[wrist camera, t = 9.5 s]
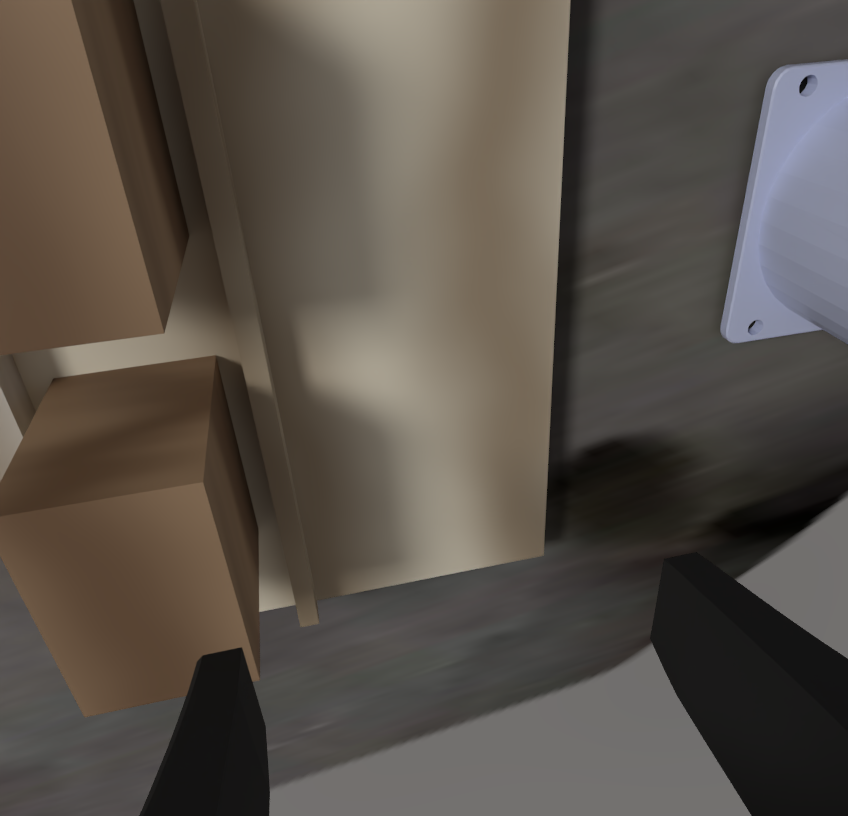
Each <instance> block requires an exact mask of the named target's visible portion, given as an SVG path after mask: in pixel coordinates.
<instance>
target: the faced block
mask: <svg viewBox="0 0 848 816" xmlns="http://www.w3.org/2000/svg"><path fill="white" fill-rule="evenodd" d="M0 557H1V559H2V561H3V562H4V564H5V566H6V568H7V570H8V572H9V574H10V576H11V578H12V580H13V582H14V583H15V585H16V587H17V589H18V591H19V593H20V595H21V597H22V599H23V601H24V603H25V604H26V606H27V608H28V610H29V612H30V614H31V616H32V618H33V620H34V622H35V624H36V625H37V627H38V629H39V631H40V633H41V635H42V637H43V639H44V641H45V643H46V645H47V646H48V648H49V650H50V652H51V654H52V656H53V658H54V660H55V662H56V664H57V666H58V667H59V669H60V671H61V673H62V675H63V677H64V679H65V681H66V683H67V685H68V687H69V688H70V690H71V692H72V694H73V696H74V698H75V700H76V702H77V704H78V706H79V708H80V710H81V711H82V713H83V715H84V717H88V716H93V715H98V714H103V713H107V712H112V711H117V710H121V709H126V708H131V707H135V706H140V705H145V704H150V703H154V702H159V701H164V700H168V699H173V698H178V697H182V696H187V693H188V690H189V687H190V683H191V680H192V677H193V674H194V670H195V667H196V663H197V661H198V660H199V659H200V658H201V657H202V656H203V655H207V654H211V653H216V652H221V651H226V650H230V649H235V648H240V647H242V649H243V652H244V655H245V659H246V662H247V665H248V669H249V672H250V676H251V679H252V682H253V681H258V680H260V633H259V532H258V525H257V521H256V517H255V513H254V509H253V505H252V501H251V497H250V492H249V488H248V484H247V480H246V476H245V472H244V468H243V464H242V460H241V456H240V452H239V448H238V443H237V439H236V435H235V431H234V427H233V423H232V419H231V415H230V411H229V407H228V403H227V399H226V394H225V390H224V386H223V382H222V378H221V374H220V370H219V366H218V362H217V358H216V355H213V356H206V357H199V358H192V359H185V360H178V361H171V362H164V363H157V364H150V365H143V366H136V367H129V368H122V369H115V370H108V371H101V372H94V373H87V374H81V375H74V376H67V377H60V378H53V380H52V382H51V384H50V386H49V388H48V390H47V392H46V394H45V396H44V398H43V400H42V401H41V403H40V405H39V407H38V409H37V411H36V413H35V415H34V417H33V419H32V421H31V423H30V425H29V427H28V429H27V431H26V433H25V435H24V437H23V439H22V441H21V443H20V445H19V446H18V448H17V450H16V452H15V454H14V456H13V458H12V460H11V462H10V464H9V466H8V468H7V470H6V472H5V474H4V476H3V478H2V480H1V482H0Z"/></svg>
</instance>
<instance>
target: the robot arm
mask: <svg viewBox="0 0 848 816" xmlns="http://www.w3.org/2000/svg"><path fill="white" fill-rule="evenodd" d="M806 76H807V85H806V87H805V89H804V90H803V91H802V92H801V93H799V86H800V84H801V81H802V80H803V79H804V78H805V77H806ZM755 320H756V321H755ZM753 321H755V324H754V325H753V326H752V327H751V328H750V329H748V327H749V325H750V324H751V323H752V322H753ZM720 328H721V334H722V336H723V337H724V338H725V339H727V340H728V341H730V342H731V343H742V342H748V341H754V340H761V339H767V338H773V337H780V336H786V335H792V334H799V333H805V332H811V331H818V330H824V331H826V332H828V333H829V334H831V335H833V336H834V337H836V338H838V339H839V340H841V341H843V342H844V343H846V344H848V59H846V60H835V61H825V62H814V63H803V64H793V65H786V66H782V67H780V68H778V69H777V70H776V71H775V72H773V74H772V75H771V77H770V78H769V80H768V83H767V85H766V89H765V94H764V99H763V105H762V110H761V115H760V121H759V126H758V131H757V137H756V142H755V147H754V152H753V158H752V163H751V168H750V174H749V179H748V184H747V189H746V195H745V200H744V205H743V211H742V216H741V221H740V227H739V232H738V237H737V242H736V248H735V253H734V258H733V264H732V269H731V274H730V280H729V285H728V290H727V295H726V301H725V306H724V311H723V317H722V322H721V327H720ZM650 639H651V641H652V643H653V646H654V648H655V650H656V652H657V654H658V657H659V659H660V661H661V663H662V666H663V668H664V670H665V672H666V674H667V676H668V678H669V680H670V682H671V684H672V686H673V688H674V690H675V692H676V694H677V696H678V698H679V699H680V701H681V703H682V704H683V706H684V708H685V709H686V711H687V713H688V714H689V716H690V718H691V719H692V721H693V722H694V724H695V726H696V727H697V729H698V730H699V732H700V734H701V735H702V737H703V739H704V740H705V742H706V743H707V745H708V747H709V748H710V750H711V751H712V753H713V754H714V756H715V758H716V759H717V761H718V763H719V764H720V766H721V767H722V769H723V771H724V772H725V774H726V775H727V777H728V779H729V780H730V782H731V783H732V785H733V786H734V788H735V790H736V791H737V793H738V795H739V796H740V798H741V799H742V801H743V803H744V804H745V806H746V807H747V809H748V811H749V812H750V814H751V815H752V816H848V659H847V658H846V657H844V656H843V655H841V654H840V653H838V652H837V651H835V650H834V649H832V648H831V647H829V646H828V645H826V644H824V643H823V642H822V641H820V640H819V639H817V638H816V637H814V636H813V635H811V634H810V633H809V632H807V631H806V630H804V629H803V628H801V627H800V626H798V625H797V624H796V623H794V622H793V621H791V620H790V619H788V618H787V617H786V616H784V615H783V614H781V613H780V612H779V611H777V610H775V609H774V608H773V607H772V606H770V605H769V604H767V603H766V602H764V601H763V600H762V599H760V598H759V597H758V596H756V595H755V594H753V593H752V592H751V591H749V590H748V589H747V588H745V587H744V586H743V585H741V584H740V583H738V582H737V581H736V580H734V579H733V578H732V577H730V576H729V575H727V574H726V573H725V572H723V571H722V570H721V569H719V568H718V567H716V566H715V565H714V564H712V563H711V562H710V561H708V560H707V559H705V558H704V557H702V556H701V555H700V554H698V553H697V552H695V553H691V554H686V555H681V556H676V557H671V558H667V559H664V563H663V568H662V574H661V580H660V585H659V591H658V597H657V603H656V608H655V614H654V620H653V626H652V631H651V637H650ZM269 797H270V789H269V772H268V756H267V742H266V727H265V723H264V719H263V716H262V713H261V709H260V706H259V702H258V699H257V696H256V692H255V689H254V686H253V682H252V679H251V676H250V672H249V669H248V665H247V662H246V659H245V655H244V652H243V649H242V647H240V648H235V649H230V650H226V651H221V652H216V653H211V654H207V655H203V656H202V657H201V658H200V659H199V660H198V661H197V663H196V667H195V670H194V674H193V677H192V680H191V683H190V687H189V690H188V693H187V696H186V699H185V702H184V705H183V708H182V711H181V713H180V716H179V719H178V722H177V724H176V727H175V730H174V732H173V735H172V738H171V741H170V743H169V746H168V748H167V751H166V753H165V756H164V758H163V761H162V763H161V765H160V768H159V770H158V773H157V775H156V778H155V780H154V783H153V785H152V787H151V790H150V792H149V795H148V797H147V799H146V802H145V804H144V806H143V809H142V811H141V813H140V815H139V816H269V799H270V798H269Z"/></svg>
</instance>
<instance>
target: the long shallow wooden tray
mask: <svg viewBox="0 0 848 816" xmlns="http://www.w3.org/2000/svg"><path fill="white" fill-rule="evenodd" d="M133 1H134V5H135V9H136V13H137V17H138V22H139V26H140V30H141V34H142V38H143V43H144V47H145V51H146V55H147V59H148V64H149V68H150V72H151V76H152V80H153V85H154V89H155V93H156V97H157V101H158V106H159V110H160V114H161V118H162V122H163V127H164V131H165V135H166V139H167V143H168V147H169V152H170V156H171V160H172V164H173V168H174V173H175V177H176V181H177V185H178V189H179V194H180V198H181V202H182V206H183V210H184V215H185V219H186V223H187V227H188V231H189V239H188V243H187V247H186V251H185V255H184V259H183V263H182V267H181V271H180V274H179V278H178V282H177V286H176V290H175V294H174V298H173V302H172V306H171V310H170V313H169V317H168V321H167V325H166V329H165V333H164V334H157V335H150V336H142V337H135V338H127V339H120V340H112V341H105V342H97V343H90V344H82V345H75V346H67V347H60V348H52V349H45V350H37V351H30V352H22V353H15V354H8V355H0V482H1V480H2V478H3V476H4V474H5V472H6V470H7V468H8V466H9V464H10V462H11V460H12V458H13V456H14V454H15V452H16V450H17V448H18V446H19V445H20V443H21V441H22V439H23V437H24V435H25V433H26V431H27V429H28V427H29V425H30V423H31V421H32V419H33V417H34V415H35V413H36V411H37V409H38V407H39V405H40V403H41V401H42V400H43V398H44V396H45V394H46V392H47V390H48V388H49V386H50V384H51V382H52V380H53V378H60V377H67V376H74V375H81V374H87V373H94V372H101V371H108V370H115V369H122V368H129V367H136V366H143V365H150V364H157V363H164V362H171V361H178V360H185V359H192V358H199V357H206V356H213V355H216V358H217V362H218V366H219V370H220V374H221V378H222V382H223V386H224V390H225V394H226V399H227V403H228V407H229V411H230V415H231V419H232V423H233V427H234V431H235V435H236V439H237V443H238V448H239V452H240V456H241V460H242V464H243V468H244V472H245V476H246V480H247V484H248V488H249V492H250V497H251V501H252V505H253V509H254V513H255V517H256V521H257V525H258V532H259V612H261V611H266V610H271V609H276V608H282V607H287V606H292V605H296V609H297V613H298V618H299V622H300V626H301V627H304V626H309V625H314V624H319V616H318V606H317V600H322V599H327V598H332V597H337V596H342V595H347V594H352V593H357V592H362V591H367V590H372V589H377V588H382V587H387V586H392V585H397V584H403V583H408V582H413V581H418V580H423V579H428V578H433V577H438V576H443V575H448V574H453V573H458V572H463V571H468V570H473V569H478V568H483V567H488V566H493V565H498V564H503V563H508V562H513V561H519V560H524V559H529V558H534V557H539V556H544V540H545V519H546V498H547V477H548V457H549V436H550V415H551V394H552V374H553V353H554V332H555V311H556V291H557V270H558V249H559V228H560V208H561V187H562V166H563V145H564V125H565V104H566V83H567V62H568V42H569V21H570V0H133Z"/></svg>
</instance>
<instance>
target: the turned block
mask: <svg viewBox="0 0 848 816" xmlns="http://www.w3.org/2000/svg"><path fill="white" fill-rule="evenodd" d="M188 239H189V231H188V227H187V223H186V219H185V215H184V210H183V206H182V202H181V198H180V194H179V189H178V185H177V181H176V177H175V173H174V168H173V164H172V160H171V156H170V152H169V147H168V143H167V139H166V135H165V131H164V127H163V122H162V118H161V114H160V110H159V106H158V101H157V97H156V93H155V89H154V85H153V80H152V76H151V72H150V68H149V64H148V59H147V55H146V51H145V47H144V43H143V38H142V34H141V30H140V26H139V22H138V17H137V13H136V9H135V5H134V1H133V0H0V355H8V354H15V353H22V352H30V351H37V350H45V349H52V348H60V347H67V346H75V345H82V344H90V343H97V342H105V341H112V340H120V339H127V338H135V337H142V336H150V335H157V334H164V333H165V329H166V325H167V321H168V317H169V313H170V310H171V306H172V302H173V298H174V294H175V290H176V286H177V282H178V278H179V274H180V271H181V267H182V263H183V259H184V255H185V251H186V247H187V243H188Z"/></svg>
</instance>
